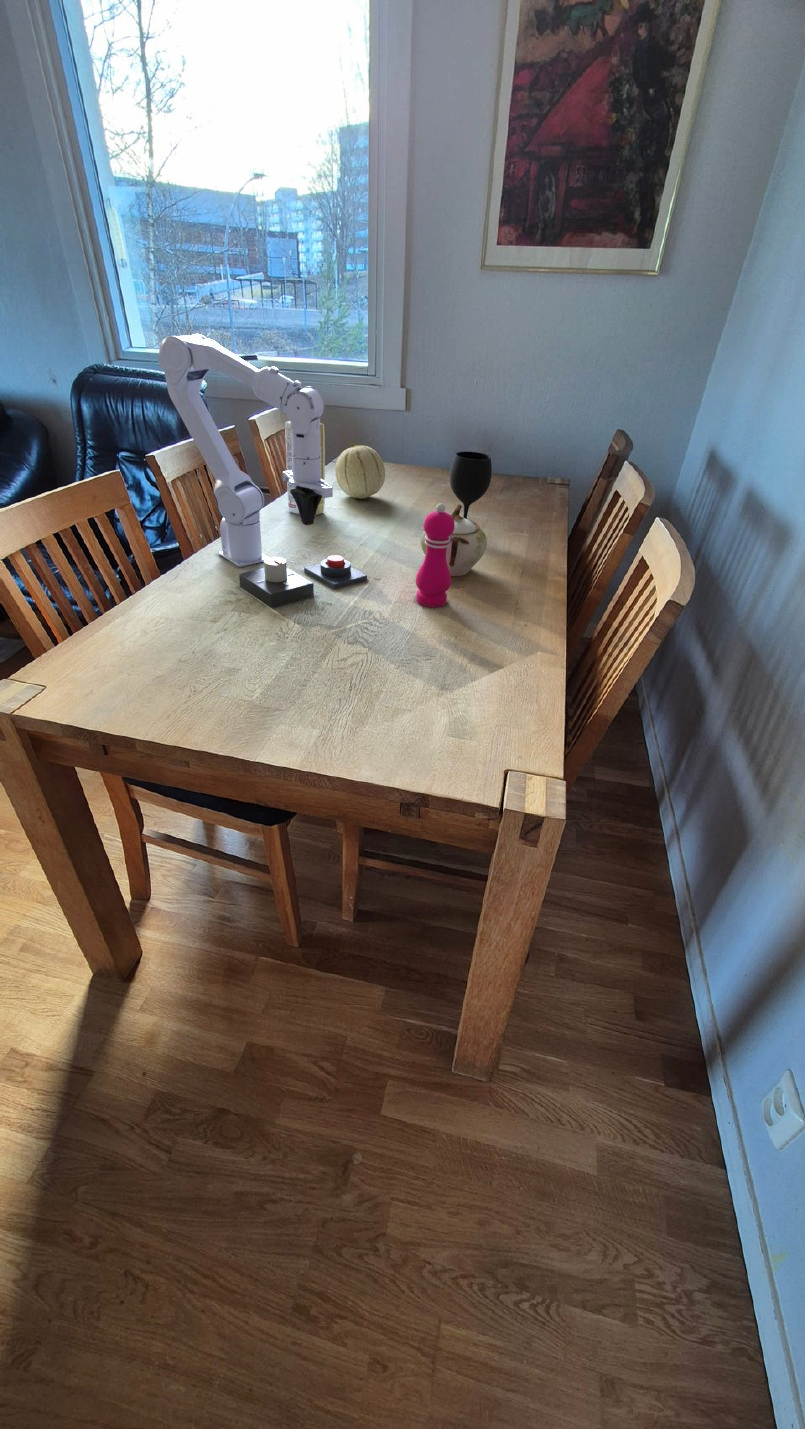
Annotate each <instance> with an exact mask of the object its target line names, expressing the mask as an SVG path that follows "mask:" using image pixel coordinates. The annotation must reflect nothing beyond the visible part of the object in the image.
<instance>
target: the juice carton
mask: <svg viewBox="0 0 805 1429" xmlns="http://www.w3.org/2000/svg"><path fill="white" fill-rule="evenodd" d="M284 425H285V426H284V428H285V429H284V431H285V432H284V435H285V436H284V437H285V439H284V440H285V464H286V471H292V443H291V422H290V420H287V421H285V424H284ZM320 433H321V479H322V480H323V481H325V482H326V447H325V446H326V444H325V443H326V442H325V441H326V440H325V439H326V438H325V437H326V435H325V425H324V423H321V422H320ZM295 487H296V486H292V485H290V484H289V482H286V489H287V506H288V511H289V512H290V513H293V514H297V515H300V513H299V510H298V507H297V504H296V502H295V500H294V498H293V496H292V494H291V493H290V490H291V489H295ZM325 505H326V498H323V497H322V499H321V501H320V503H319V505H318V508H317V511H316V515H315V516H318V515H321V514H324V512H325Z"/></svg>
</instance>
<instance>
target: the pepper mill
mask: <svg viewBox="0 0 805 1429" xmlns="http://www.w3.org/2000/svg"><path fill="white" fill-rule="evenodd" d="M446 508H447V507H446V505H445V504H444V503H438V504H437V505H436V507H435V510H434V511H431V512H430V513H428V514H427V515H426V516H425V518H424V521H423V532H424V531H425V532H426V534H427V535H426V536H425V544H426V556H425V555H424V559H423V561H422V563H421V565H420V567H419V569H418V571H417V573H416V576H415V585H416V587H417V588H418V590H417V591H416V599H415V600H416V602H417V603H418V604H419V605H421V606H424V607H427V608H440V607H443V606H445V605H446V603H447V598H448V593H447V591H449V589H450V587H451V585H452V576H450V572H449V568H448V565H447V561H446V551H447V547H449V546H450V540H451V539H450V537H449V536H450V535H451V534H452V533H453V531H454V527H455V524H454V520H453V517H452V516H451V514H450V513H449V512H447V511H446V510H447V509H446Z"/></svg>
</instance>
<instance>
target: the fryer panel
mask: <svg viewBox="0 0 805 1429" xmlns="http://www.w3.org/2000/svg"><path fill="white" fill-rule="evenodd" d="M238 578H239V587H240V589H242V590H243V591H245V592H246V593H248V594H250V595H251V596H252V597H253V598H255V599H257V600H258V601H260V602H261V603H262V604H264V605H266V606H267V607H269V608H270V609H273V608H277V607H281V606H284V605H288V604H291V603H294V602H298V601H302V600H306V599H310V598H313V597H315V595H314V593H315V592H314V591H315V590H314V587H315V586H314V582H312V581H311V580H309V579H308V578H306V577H304V576H302V575H301V574H299V573H297V572H295V571H294V570H292V569H291V568H289V567H287V579H286V580H285V581H282V582H270V581H267V580H266V579H265V571H264V567H262V568H258V569H253V570H248V571H245V572H241V573H238Z"/></svg>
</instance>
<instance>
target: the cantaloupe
mask: <svg viewBox="0 0 805 1429" xmlns="http://www.w3.org/2000/svg"><path fill="white" fill-rule="evenodd" d="M349 446H350V447H348V448H346V449H344V450H343V451H342V452H340V454H339V455H338V456H337V460H336V463H335V468H334V471H335V478H336V482H337V484H338V486H339V488H340V490H341V491H342V492H343V493H344V494H346V496H349V497H351V498H355V499H359V500H361V499H363V500H364V499H365V500H366V499H367V498H369V497H372V496H373V495H376V494H378V493H379V491H381V489H382V487H383V486H384V483H385V481H386V468H385V463H384V462H383V460H382V457H381V455H380V454H379V453H378V451H376V450H375V449H373V448H372V447H370V446H367V445H357V444H356V443H354V442H350V443H349Z"/></svg>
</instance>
